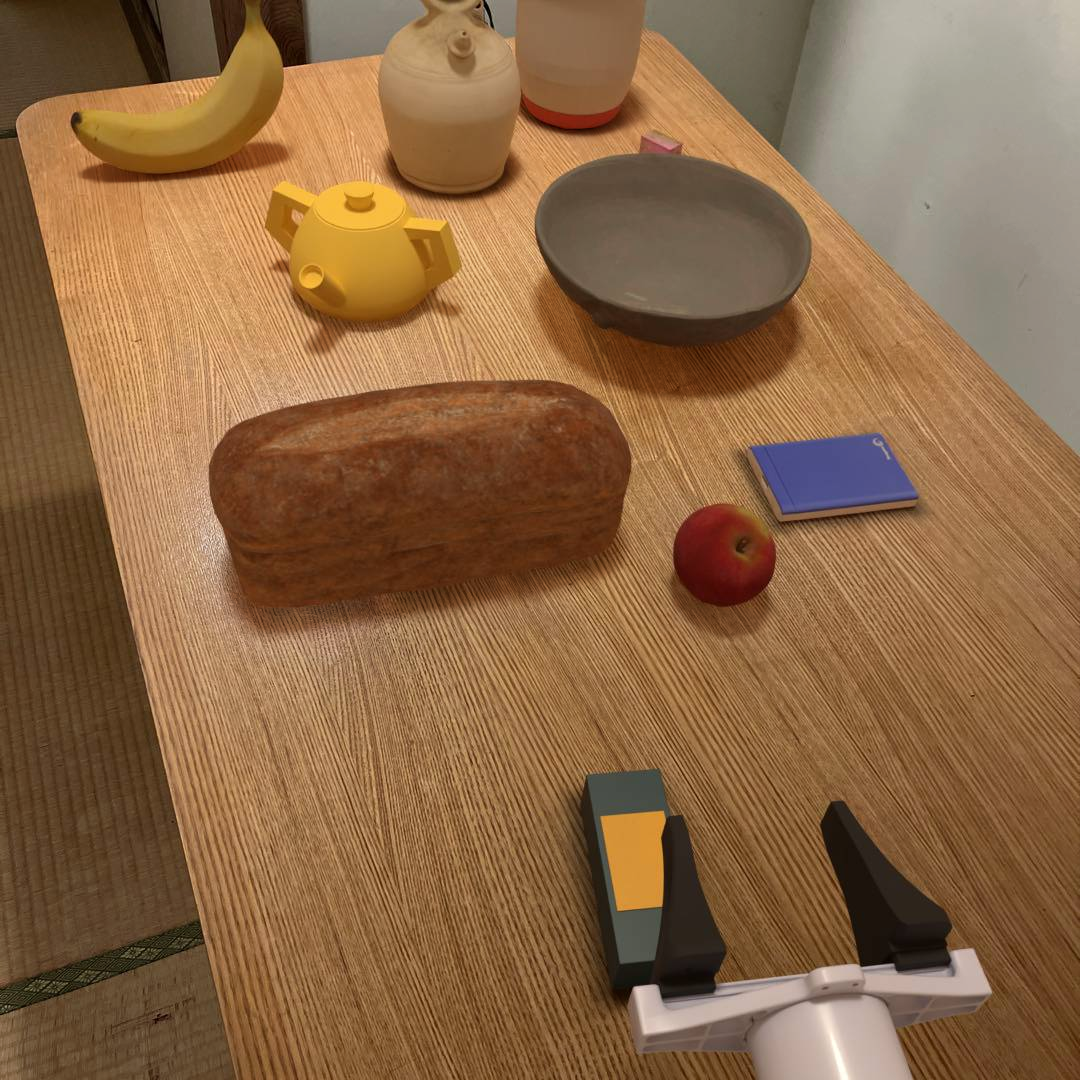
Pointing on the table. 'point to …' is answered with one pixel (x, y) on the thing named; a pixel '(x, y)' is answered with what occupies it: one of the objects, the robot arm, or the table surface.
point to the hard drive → (831, 477)
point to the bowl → (672, 247)
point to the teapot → (360, 250)
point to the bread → (417, 489)
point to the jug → (449, 99)
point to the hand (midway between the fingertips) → (752, 819)
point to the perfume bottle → (659, 143)
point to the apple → (724, 555)
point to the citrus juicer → (577, 58)
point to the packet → (627, 867)
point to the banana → (195, 114)
